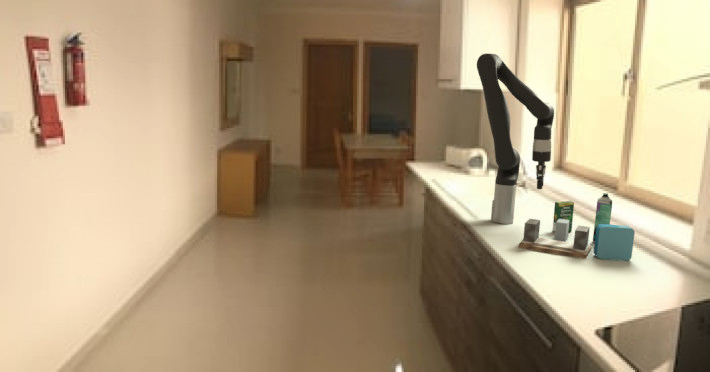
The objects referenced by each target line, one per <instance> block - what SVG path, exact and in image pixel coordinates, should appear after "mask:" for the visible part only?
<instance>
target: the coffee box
mask: <svg viewBox="0 0 710 372" xmlns="http://www.w3.org/2000/svg"><path fill="white" fill-rule="evenodd" d="M574 206H575V202H574V201H571V200H569V201H555V202H554V208H553V209H554V211H553V222H552V232H553V233H555V226H556V222H557V221H558V220H559V219H565V220H570V221H569V230H568V233H572V232H573V231H572V230H573V218H574Z"/></svg>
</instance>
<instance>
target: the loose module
mask: <svg viewBox="0 0 710 372" xmlns="http://www.w3.org/2000/svg"><path fill="white" fill-rule="evenodd" d="M569 221H570V220H565V219H559V220H558V221H557V222H556V226H555V232H554V240H558V241H564V242H568V238H569V232H568V230H569Z"/></svg>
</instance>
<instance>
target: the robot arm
mask: <svg viewBox="0 0 710 372" xmlns="http://www.w3.org/2000/svg"><path fill="white" fill-rule="evenodd" d="M476 70H477V72H478V76H479V80H480V83H481V86H482V90H483V96H484V101H485V102H484V103H485V107H486V113H487V118H488V122H489V127H490V131H491V134H492V135H491V136H492V139H493V145H494V147H493V148H494V156H495V157H494V158H495V163H496V164H497V168H498V169H497V173H496V176H495V180H494V183H495V184H494V193H493V200H492V203H491V216H490V222H493V223H497V224H504V225H506V224H507V225H510V224H513V223H514V218H515V205H516V192H517V183H518V178H519V174H520V173H519V172H520V166H521V156H520V153H519V152H518V150H517V149H515V147H514V148H513V143H512V140H511V115H510V114H511V113H510V110H509V104H508V101H507V98H506V96H505V94H504V92H503V90H502V88H501V86H500V82H501V83H502V84H503V85H504V86H505V88H506V89H507V90H508V91H509V93H510V94H511V95H512V96H513V97H514V98H515V99H516V100H517V101H518V102H519V103H521V105H523V106H524V107H525V108H526V109H527V111H529V112H530V114H531V115H532V116H533V117H534V118H536V124H535V126H534V129H533V141H532V142H533V143H532V153H531V154H532V156H531V158H532V159H531V160H532V161H533V162H537V164H536V165H535V170H536V171H535V176H536V178H535V179H536V189H537V190H543V187H544V181H545V180H544V179H545V176H546V171H547V170H546V169H547V165H546V163H548V162H551V160H552V127H553V123H554V118H555V108H554V105H553V104H551V103H550V102H544V101H543V100H542V99H541V98H539V96H538V93H536V91H534V90H533V89H532V88H531V87H530V86H528V85H527V84H526V83H525V82H524V81H522V80H521V79H520V78H519V77H518V76H517V75H516V74H515V73H513V71H512V70H511V69H510V68H509V67H508V65H507V64H506V63H505V62H504V61H503V60H502V58H501V56H499V55H497V54H495V53H482V54H481V55H479V57H478V58H477V62H476ZM499 81H500V82H499Z"/></svg>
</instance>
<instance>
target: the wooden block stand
mask: <svg viewBox="0 0 710 372" xmlns="http://www.w3.org/2000/svg"><path fill="white" fill-rule="evenodd" d="M540 228H541V219H535V218H529V219H527V220H526V221H525V223H524V230H523V239H522V240H521V241H520V242H519V244H518V248H519V249H523V248H524V249H525V250H528V251H529V250H531V251H536V252H541V253H546V254H547V253H549V254H554V255H560V256H566V257H573V258H578V259H583V260H584V259H585V260H587V258H588V256H589V255H590V252H591V249H592V245H589V239H590V238H589V235H590V229H591V228H590V226H585V225H577V227H576V228H575V229H574V236H573V237H574V238H573V242H570V241H566V242H564V241H558V240H555V239H549V238H544V237H540Z"/></svg>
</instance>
